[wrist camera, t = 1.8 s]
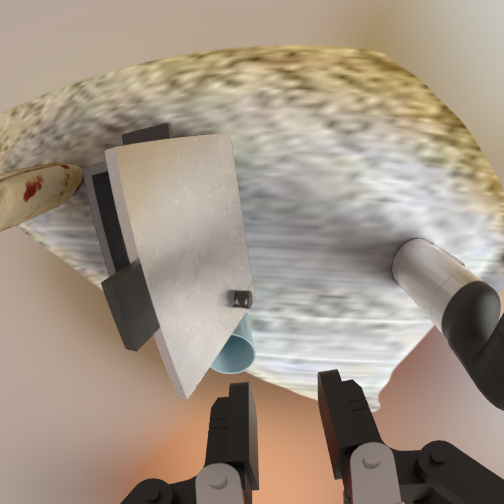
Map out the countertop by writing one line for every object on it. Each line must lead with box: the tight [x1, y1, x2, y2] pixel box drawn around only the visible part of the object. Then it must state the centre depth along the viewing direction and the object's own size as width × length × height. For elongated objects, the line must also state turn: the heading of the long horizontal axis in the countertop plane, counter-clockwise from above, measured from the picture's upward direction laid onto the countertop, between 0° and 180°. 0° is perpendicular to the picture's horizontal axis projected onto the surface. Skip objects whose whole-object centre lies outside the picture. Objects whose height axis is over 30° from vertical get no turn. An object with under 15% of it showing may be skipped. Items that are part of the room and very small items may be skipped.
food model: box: [0, 162, 84, 231], centre depth 34 cm, size 10×7×20 cm
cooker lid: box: [101, 133, 255, 399], centre depth 27 cm, size 21×20×2 cm
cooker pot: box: [82, 123, 172, 276], centre depth 41 cm, size 18×26×10 cm
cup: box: [210, 312, 256, 374], centre depth 48 cm, size 8×8×10 cm
